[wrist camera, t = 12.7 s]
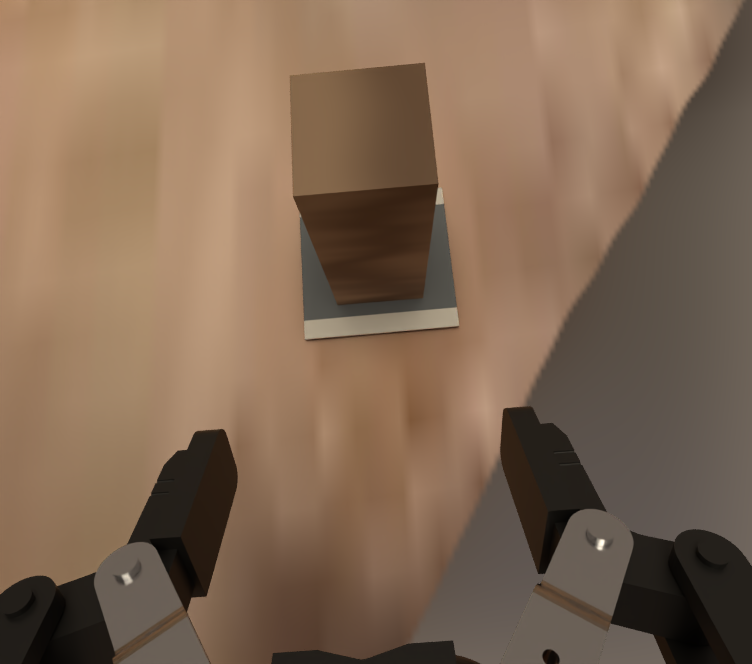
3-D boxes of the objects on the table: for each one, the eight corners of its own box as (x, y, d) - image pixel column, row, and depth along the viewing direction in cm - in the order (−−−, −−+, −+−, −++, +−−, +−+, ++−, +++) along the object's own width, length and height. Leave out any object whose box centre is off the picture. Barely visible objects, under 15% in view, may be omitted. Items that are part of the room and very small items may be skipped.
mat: (305, 339, 25) (304, 339, 25) (299, 202, 28) (299, 201, 27) (458, 326, 25) (459, 325, 25) (441, 188, 27) (441, 187, 27)
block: (337, 305, 26) (292, 196, 15) (333, 227, 27) (289, 75, 16) (422, 298, 26) (438, 183, 15) (415, 220, 27) (425, 62, 16)
